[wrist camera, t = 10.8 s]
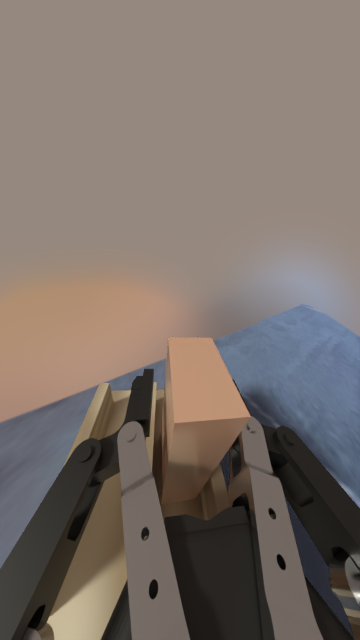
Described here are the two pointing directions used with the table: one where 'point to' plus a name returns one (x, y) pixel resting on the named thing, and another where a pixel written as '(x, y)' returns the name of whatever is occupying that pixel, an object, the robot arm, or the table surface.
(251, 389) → the table surface
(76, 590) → the wooden slotted stand
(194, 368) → the clay slat
